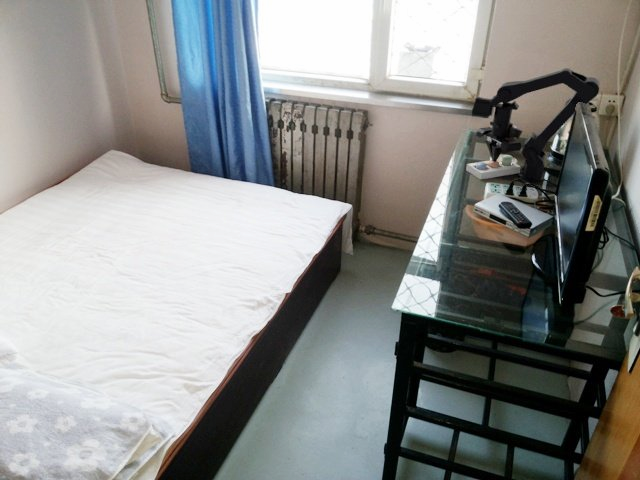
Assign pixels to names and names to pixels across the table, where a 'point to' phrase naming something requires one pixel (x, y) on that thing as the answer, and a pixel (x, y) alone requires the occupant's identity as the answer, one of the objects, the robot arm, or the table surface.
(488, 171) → the panel
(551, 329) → the table surface
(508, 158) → the sage button
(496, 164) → the terracotta button
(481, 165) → the slate button
